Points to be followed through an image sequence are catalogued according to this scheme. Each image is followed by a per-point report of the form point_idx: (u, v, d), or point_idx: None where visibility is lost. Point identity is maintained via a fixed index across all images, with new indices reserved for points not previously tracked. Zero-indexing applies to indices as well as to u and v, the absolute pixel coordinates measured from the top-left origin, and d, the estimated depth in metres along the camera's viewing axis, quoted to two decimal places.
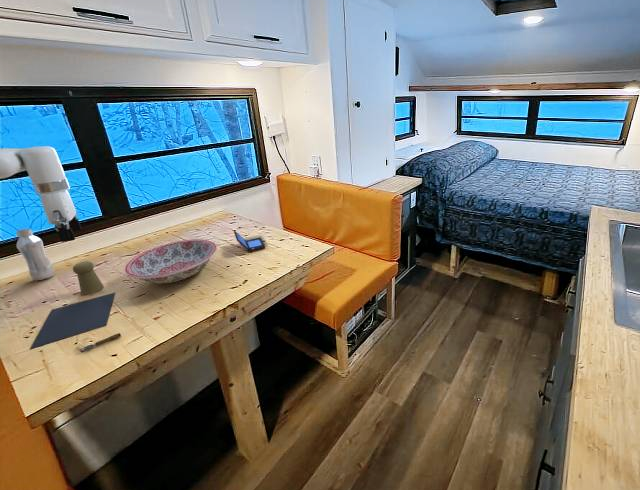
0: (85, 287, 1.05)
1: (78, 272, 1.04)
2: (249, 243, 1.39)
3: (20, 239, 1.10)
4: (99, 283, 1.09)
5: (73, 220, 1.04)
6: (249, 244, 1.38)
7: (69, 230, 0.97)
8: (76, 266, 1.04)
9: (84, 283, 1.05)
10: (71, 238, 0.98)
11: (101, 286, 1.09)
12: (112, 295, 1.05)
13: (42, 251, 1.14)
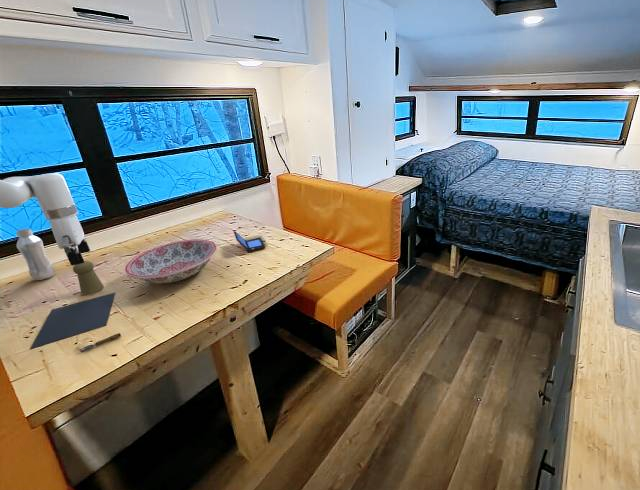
0: (85, 287, 1.05)
1: (78, 272, 1.04)
2: (249, 243, 1.39)
3: (20, 239, 1.10)
4: (99, 283, 1.09)
5: (81, 242, 1.07)
6: (249, 244, 1.38)
7: (78, 254, 1.00)
8: (76, 266, 1.04)
9: (84, 283, 1.05)
10: (80, 261, 1.01)
11: (101, 286, 1.09)
12: (112, 295, 1.05)
13: (42, 251, 1.14)
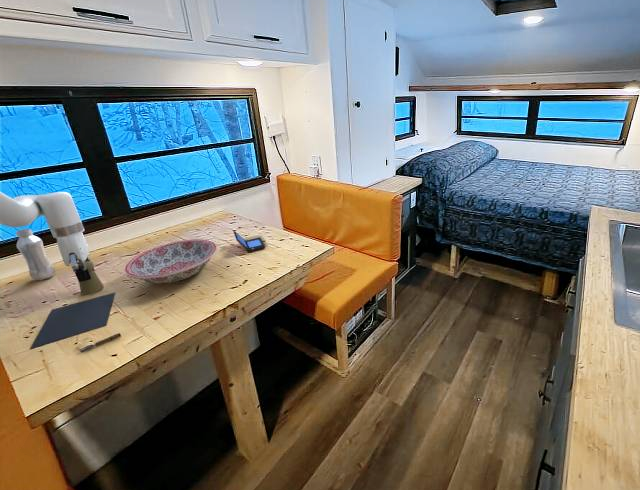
0: (85, 287, 1.05)
1: None
2: (249, 243, 1.39)
3: (20, 239, 1.10)
4: (99, 283, 1.09)
5: None
6: (249, 244, 1.38)
7: (86, 270, 1.04)
8: None
9: (84, 283, 1.05)
10: (88, 278, 1.05)
11: (101, 286, 1.09)
12: (112, 295, 1.05)
13: (42, 251, 1.14)
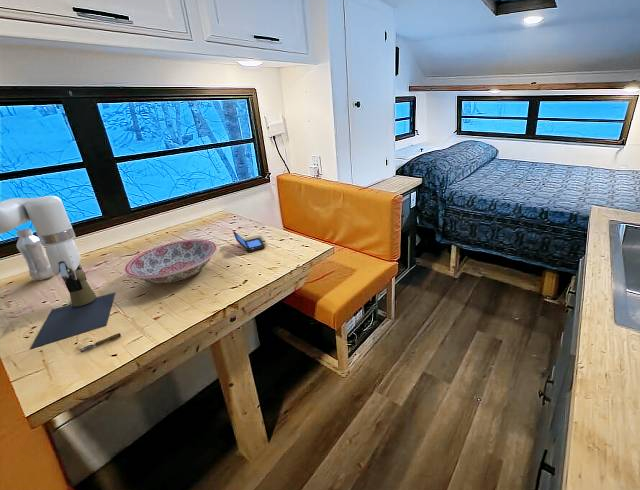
0: (76, 298, 0.98)
1: None
2: (248, 243, 1.39)
3: (20, 239, 1.10)
4: (91, 293, 1.02)
5: None
6: (248, 244, 1.38)
7: (77, 280, 0.97)
8: None
9: (75, 293, 0.98)
10: (79, 288, 0.97)
11: (93, 296, 1.02)
12: (112, 295, 1.05)
13: (42, 251, 1.14)
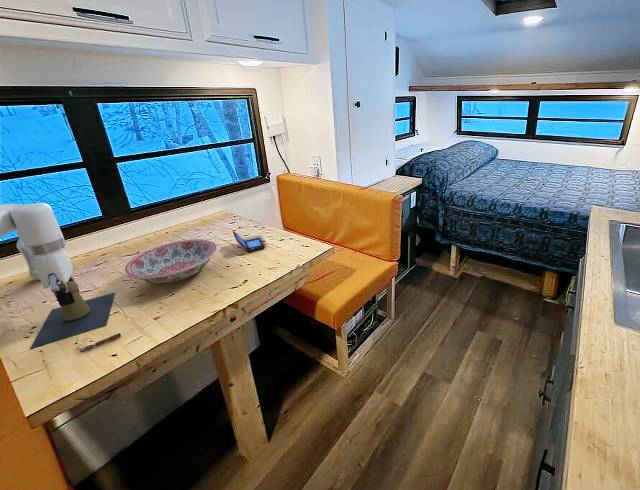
0: (68, 311, 0.92)
1: None
2: (248, 243, 1.39)
3: (20, 239, 1.10)
4: (84, 306, 0.95)
5: None
6: (248, 244, 1.38)
7: (68, 293, 0.90)
8: None
9: (67, 307, 0.92)
10: (71, 301, 0.91)
11: (87, 309, 0.96)
12: (112, 295, 1.05)
13: None
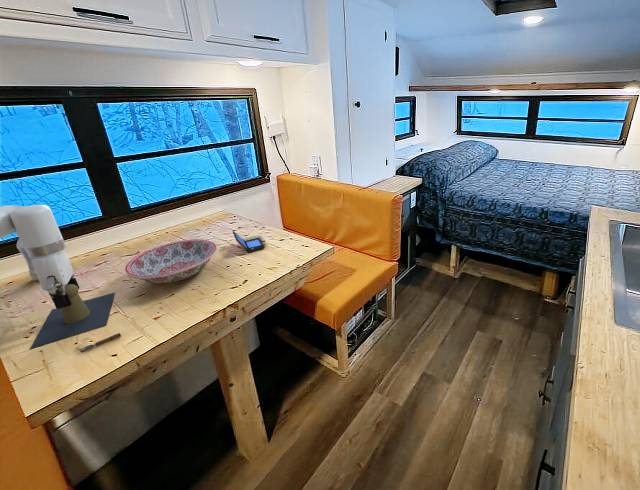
0: (69, 314, 0.92)
1: None
2: (248, 243, 1.39)
3: (20, 239, 1.10)
4: (85, 309, 0.95)
5: (70, 279, 0.95)
6: (248, 244, 1.38)
7: (65, 295, 0.88)
8: None
9: (67, 310, 0.91)
10: (67, 304, 0.89)
11: (87, 312, 0.95)
12: (112, 295, 1.05)
13: None
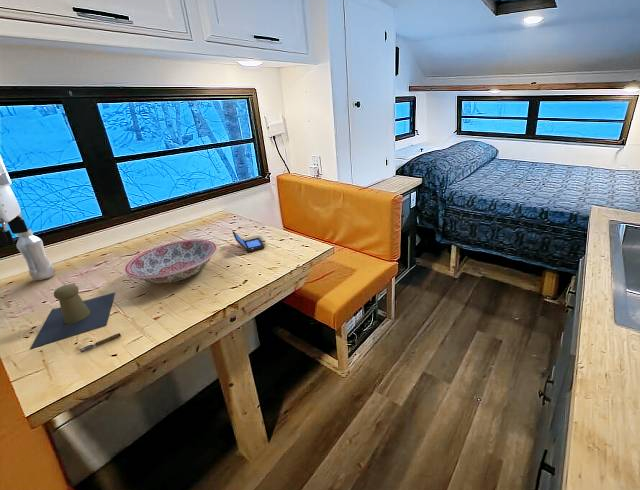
0: (69, 314, 0.92)
1: (60, 298, 0.90)
2: (248, 243, 1.39)
3: (20, 239, 1.10)
4: (85, 309, 0.95)
5: (17, 220, 0.91)
6: (248, 244, 1.38)
7: (7, 232, 0.84)
8: (57, 291, 0.90)
9: (67, 310, 0.91)
10: (9, 242, 0.85)
11: (87, 312, 0.95)
12: (112, 295, 1.05)
13: (42, 251, 1.14)
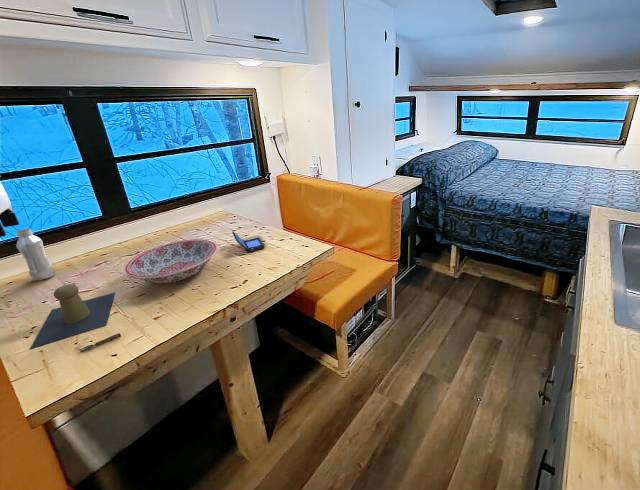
0: (69, 314, 0.92)
1: (60, 298, 0.90)
2: (248, 243, 1.39)
3: (20, 239, 1.10)
4: (85, 309, 0.95)
5: (8, 213, 0.91)
6: (248, 244, 1.38)
7: None
8: (57, 291, 0.90)
9: (67, 310, 0.91)
10: (1, 234, 0.85)
11: (87, 312, 0.95)
12: (112, 295, 1.05)
13: (42, 251, 1.14)
